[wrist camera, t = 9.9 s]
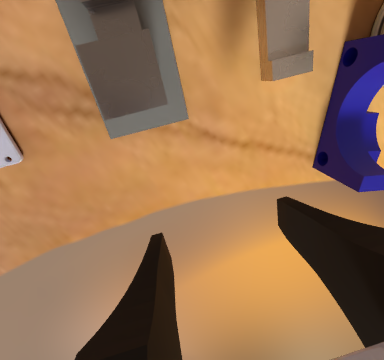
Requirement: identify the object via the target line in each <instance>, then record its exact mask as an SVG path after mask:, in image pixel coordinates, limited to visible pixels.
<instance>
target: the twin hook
mask: <svg viewBox="0 0 384 360" xmlns="http://www.w3.org/2000/svg"><path fill="white" fill-rule="evenodd" d="M309 1H310V0H256V4H257V19H258V34H259V48H260V63H261V78H262V81H275V80H279V79H283V78H287V77H291V76H295V75H299V74H303V73H306V72H310V71H313V50H312V51H308V49H309Z"/></svg>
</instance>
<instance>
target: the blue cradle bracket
mask: <svg viewBox="0 0 384 360" xmlns="http://www.w3.org/2000/svg"><path fill="white" fill-rule="evenodd" d="M383 85H384V34H383V35H377V36H372V37H367V38H362V39H357V40H351V41H346V42H345V44H344V48H343V52H342V56H341V60H340V64H339V67H338V71H337V75H336V79H335V83H334V87H333V91H332V95H331V98H330V102H329V106H328V110H327V114H326V118H325V122H324V126H323V129H322V133H321V137H320V141H319V145H318V149H317V153H316V157H315V160H314V164H313V168H315V169H317V170H319V171H320V172H322V173H324V174H326V175H328V176H330V177H331V178H333V179H335V180H337V181H339V182H341V183H343V184H344V185H346V186H348V187H350V188H352V189H354V190H356V191H357V192H366V191H377V190H384V169H383V168H382V167H380V166H379V165H378V164H377V163H376V162H377V159H378V157H379V154H380V152H381V150H380V148H379V145H378V142H377V138H376V123H377V118H378V115H379V113H375V112H368V111H367V109H368V107H369V105H370V103H371V101H372V99H373V98H374V96H375V95H376V93H377V92H378V91H379V89H380V88H381V87H382V86H383Z"/></svg>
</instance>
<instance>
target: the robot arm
mask: <svg viewBox="0 0 384 360" xmlns="http://www.w3.org/2000/svg"><path fill="white" fill-rule="evenodd" d="M7 157H10V158H11V159H12V161H10V160H9V159H8V158H7ZM22 160H23V155H22V153H21V152H20V150H19V148H18V147H17V145H16V143H15V142H14V140H13V139H12V137H11V135H10V134H9V132H8V130H7V129H6V127H5V125H4V124H3V122H2V121H1V119H0V168H1V167H5V166H9V165H13V164H17V163H19V162H21V161H22ZM277 210H278V226H279V227H280V229H281V230H282V232H283V234H284V235H285V236H286V238H287V240H288V241H289V242H290V243H291V244H292V245H293V247H294V248H295V249H296V250H297V251H298V252H299V254H300V255H301V256H302V257H303V258H304V259H305V260H306V261H307V263H308V264H309V265H310V266H311V267H312V268H313V270H314V271H315V272H316V273H317V275H318V276H319V277H320V278H321V280H322V282H323V283H324V284H325V286H326V287H327V289H328V290H329V291H330V293H331V294H332V296H333V297H334V299H335V300H336V301H337V303H338V305H339V306H340V308H341V309H342V311H343V312H344V314H345V316H346V317H347V319H348V320H349V322H350V323H351V325H352V327H353V328H354V330H355V331H356V333H357V335H358V336H359V338H360V339H361V341H362V343H363V345H364V346H365V348H364V349H361V350H358V351H355V352H352V353H349V354H346V355H343V356H340V357H337V358H334V359H331V360H384V228H381V227H376V226H372V225H367V224H363V223H359V222H356V221H352V220H348V219H345V218H342V217H339V216H336V215H333V214H330V213H327V212H324V211H322V210H319V209H317V208H314V207H311V206H309V205H306V204H304V203H301V202H299V201H297V200H294V199H291V198H289V197H283V198H280V199H277ZM75 360H182V355H181V348H180V341H179V335H178V328H177V321H176V310H175V287H174V272H173V266H172V260H171V256H170V253H169V250H168V247H167V245H166V242H165V239H164V236H163V234H162V233H159V234H155V235H152V237H151V238H150V242H149V244H148V247H147V250H146V253H145V255H144V257H143V260H142V262H141V264H140V267H139V269H138V271H137V273H136V275H135V277H134V279H133V281H132V283H131V284H130V286H129V288H128V290H127V291H126V293H125V295H124V296H123V298H122V299H121V301H120V302H119V304H118V305H117V307H116V308H115V310H114V311H113V312H112V314H111V315H110V316H109V318H108V319H107V320H106V322H105V323H104V324H103V325H102V326H101V328H100V329H99V330H98V331H97V332H96V334H95V335H94V336H93V337H92V338H91V339H90V340H89V341H88V342H87V344H86V345H85V346H84V347H83V348H82V349H81V350H80V351H79V352H78V353H77V355H76V358H75Z"/></svg>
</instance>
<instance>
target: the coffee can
mask: <svg viewBox="0 0 384 360" xmlns="http://www.w3.org/2000/svg"><path fill="white" fill-rule="evenodd" d="M383 34H384V3H383V5H382V7H381V8H380V10H379V13H378V15H377V17H376V20H375V22H374V25H373V28H372V32H371V36H370V37H372V36H377V35H383ZM383 87H384V85H383Z"/></svg>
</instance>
